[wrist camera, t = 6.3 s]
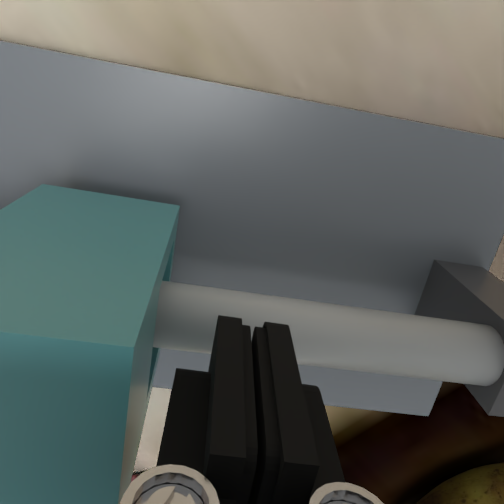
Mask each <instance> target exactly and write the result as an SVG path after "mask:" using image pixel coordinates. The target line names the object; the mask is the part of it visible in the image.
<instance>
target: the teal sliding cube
mask: <svg viewBox="0 0 504 504" xmlns="http://www.w3.org/2000/svg"><path fill="white" fill-rule="evenodd" d="M179 209H180V206H179V205H173V204H167V203H160V202H154V201H148V200H141V199H135V198H129V197H122V196H116V195H110V194H103V193H97V192H91V191H84V190H78V189H72V188H65V187H59V186H53V185H47V184H42V185H40V186H39V187H37V188H35V189H34V190H32V191H30V192H29V193H27V194H25V195H24V196H22V197H21V198H19V199H17V200H16V201H14V202H12V203H11V204H9V205H7V206H6V207H4V208H2V209H1V210H0V504H120V502H121V499H122V497H123V495H124V493H125V491H126V490H127V488H128V487H129V485H130V483H131V478H132V474H133V469H134V465H135V460H136V456H137V452H138V447H139V443H140V438H141V434H142V429H143V425H144V420H145V416H146V412H147V407H148V403H149V398H150V394H151V389H152V385H153V381H154V376H155V372H156V367H157V363H158V358H159V354H160V349H161V348H157V347H153V341H154V333H155V324H156V316H157V307H158V299H159V291H160V286H161V282H162V281H169V282H170V279H171V272H172V264H173V256H174V248H175V240H176V233H177V225H178V217H179Z"/></svg>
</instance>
